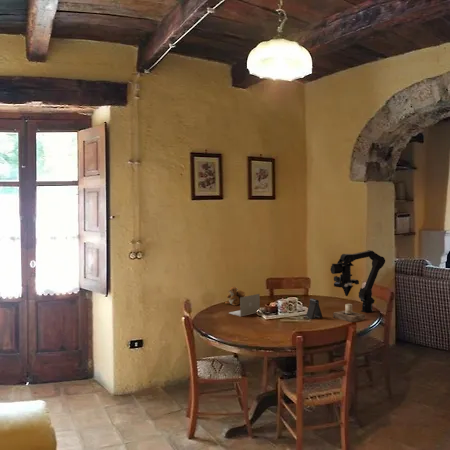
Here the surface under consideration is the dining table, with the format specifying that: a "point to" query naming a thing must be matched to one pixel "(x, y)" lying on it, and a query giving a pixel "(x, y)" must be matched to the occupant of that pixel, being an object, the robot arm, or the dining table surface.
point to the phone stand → (314, 309)
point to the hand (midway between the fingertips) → (346, 295)
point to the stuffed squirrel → (234, 296)
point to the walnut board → (349, 316)
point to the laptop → (248, 305)
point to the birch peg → (348, 309)
